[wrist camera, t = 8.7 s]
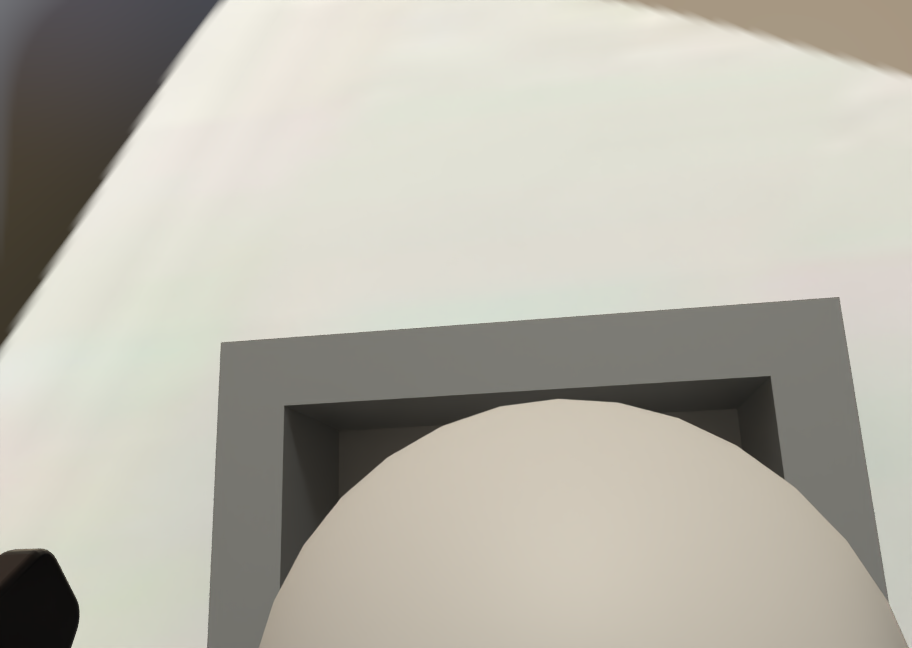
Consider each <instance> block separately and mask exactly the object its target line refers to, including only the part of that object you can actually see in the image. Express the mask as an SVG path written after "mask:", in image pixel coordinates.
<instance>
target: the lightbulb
mask: <svg viewBox="0 0 912 648" xmlns="http://www.w3.org/2000/svg"><path fill="white" fill-rule="evenodd" d="M259 648H908V645H907V643H906V641H905V639H904V636H903V634H902V632H901V630H900V627H899V625H898V623H897V621H896V618H895V616H894V614H893V611H892V609H891V607H890V605H889V602H888V601H887V599H886V598H885V597H884V595H883V594H882V592H881V591H880V589H879V588H878V586H877V585H876V583H875V582H874V580H873V579H872V577H871V576H870V574H869V573H868V571H867V570H866V568H865V567H864V565H863V564H862V562H861V561H860V560H859V558H858V557H857V555H856V554H855V552H854V551H853V549H852V548H851V546H850V545H849V543H848V542H847V540H846V539H845V538H844V537H843V536H842V535H841V534H840V533H839V532H838V531H837V530H836V529H835V528H834V527H833V526H832V525H831V524H830V523H829V522H828V521H827V520H826V519H825V518H824V517H823V516H822V515H821V514H820V513H819V512H818V510H817V509H816V508H815V507H814V506H813V505H812V504H811V503H810V502H809V501H808V500H807V499H806V498H805V497H804V496H803V495H802V494H801V493H800V492H799V491H798V490H797V489H796V488H795V487H793V486H792V485H791V484H790V483H788V482H787V481H785V480H784V479H783V478H781V477H780V476H778V475H777V474H776V473H774V472H773V471H771V470H770V469H769V468H767V467H766V466H764V465H763V464H762V463H760V462H759V461H757V460H756V459H755V458H753V457H752V456H750V455H749V454H748V453H746V452H745V451H743V450H742V449H741V448H739V447H738V446H736V445H734V444H732V443H730V442H728V441H726V440H724V439H722V438H720V437H717V436H715V435H713V434H711V433H709V432H707V431H705V430H702V429H700V428H698V427H696V426H694V425H692V424H690V423H688V422H685V421H683V420H681V419H679V418H676V417H672V416H668V415H664V414H660V413H657V412H653V411H649V410H645V409H641V408H637V407H633V406H629V405H625V404H622V403H617V402H601V401H584V400H568V399H553V400H546V401H538V402H531V403H523V404H515V405H508V406H500V407H497V408H494V409H491V410H488V411H485V412H482V413H479V414H476V415H473V416H470V417H468V418H465V419H462V420H459V421H456V422H453V423H450V424H447V425H444V426H442V427H440V428H438V429H436V430H434V431H433V432H431V433H429V434H427V435H426V436H424V437H422V438H420V439H419V440H417V441H415V442H413V443H412V444H410V445H408V446H407V447H405V448H403V449H401V450H400V451H398V452H396V453H394V454H393V455H391V456H389V457H387V458H386V459H385V460H384V461H383V462H382V463H380V464H379V465H378V466H377V467H376V468H375V469H374V470H372V471H371V472H370V473H369V474H368V475H367V476H365V477H364V478H363V479H362V480H361V481H360V482H359V483H357V484H356V485H355V486H354V487H353V488H352V489H350V490H349V491H348V492H347V493H346V494H345V495H343V496H342V497H341V499H340V500H339V501H338V502H337V504H336V505H335V506H334V507H333V509H332V510H331V511H330V512H329V514H328V515H327V516H326V518H325V519H324V520H323V521H322V523H321V524H320V525H319V526H318V528H317V529H316V530H315V531H314V533H313V534H312V535H311V536H310V538H309V539H308V540H307V541H306V543H305V544H304V545H303V547H302V549H301V551H300V553H299V555H298V557H297V559H296V560H295V562H294V564H293V566H292V568H291V570H290V572H289V574H288V575H287V577H286V579H285V581H284V583H283V585H282V587H281V589H280V591H279V592H278V594H277V596H276V598H275V600H274V602H273V605H272V608H271V612H270V615H269V618H268V621H267V624H266V627H265V630H264V633H263V637H262V640H261V643H260V646H259Z"/></svg>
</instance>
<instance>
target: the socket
mask: <svg viewBox="0 0 912 648" xmlns="http://www.w3.org/2000/svg"><path fill="white" fill-rule="evenodd" d="M553 399H568V400H584V401H601V402H617V403H622V404H625V405H629V406H633V407H637V408H641V409H645V410H649V411H653V412H657V413H660V414H664V415H668V416H672V417H676V418H679V419H681V420H683V421H685V422H688V423H690V424H692V425H694V426H696V427H698V428H700V429H702V430H705V431H707V432H709V433H711V434H713V435H715V436H717V437H720V438H722V439H724V440H726V441H728V442H730V443H732V444H734V445H736V446H738V447H739V448H741V449H742V450H743V451H745V452H746V453H748V454H749V455H750V456H752V457H753V458H755V459H756V460H757V461H759V462H760V463H762V464H763V465H764V466H766V467H767V468H769V469H770V470H771V471H773V472H774V473H776V474H777V475H778V476H780V477H781V478H783V479H784V480H785V481H787V482H788V483H790V484H791V485H792V486H793V487H795V488H796V489H797V490H798V491H799V492H800V493H801V494H802V495H803V496H804V497H805V498H806V499H807V500H808V501H809V502H810V503H811V504H812V505H813V506H814V507H815V508H816V509H817V510H818V512H819V513H820V514H821V515H822V516H823V517H824V518H825V519H826V520H827V521H828V522H829V523H830V524H831V525H832V526H833V527H834V528H835V529H836V530H837V531H838V532H839V533H840V534H841V535H842V536H843V537H844V538H845V539H846V540H847V542H848V543H849V545H850V546H851V548H852V549H853V551H854V552H855V554H856V555H857V557H858V558H859V560H860V561H861V562H862V564H863V565H864V567H865V568H866V570H867V571H868V573H869V574H870V576H871V577H872V579H873V580H874V582H875V583H876V585H877V586H878V588H879V589H880V591H881V592H882V594H883V595H884V597H885V598H886V599H887V601H888V595H887V589H886V582H885V576H884V570H883V564H882V558H881V552H880V545H879V539H878V533H877V527H876V521H875V515H874V509H873V502H872V496H871V490H870V484H869V478H868V472H867V465H866V459H865V453H864V447H863V441H862V435H861V428H860V422H859V416H858V410H857V404H856V398H855V392H854V385H853V379H852V373H851V367H850V361H849V355H848V348H847V342H846V336H845V330H844V324H843V318H842V312H841V305H840V299H839V297H834V298H821V299H807V300H793V301H780V302H766V303H753V304H739V305H725V306H712V307H698V308H685V309H671V310H657V311H644V312H630V313H617V314H603V315H589V316H576V317H562V318H549V319H535V320H521V321H508V322H494V323H481V324H467V325H453V326H440V327H426V328H413V329H399V330H385V331H372V332H358V333H345V334H331V335H317V336H304V337H290V338H277V339H263V340H249V341H236V342H222V343H221V353H220V376H219V398H218V420H217V442H216V465H215V487H214V509H213V531H212V554H211V576H210V598H209V620H208V643H207V648H259V646H260V643H261V640H262V637H263V633H264V630H265V627H266V624H267V621H268V618H269V615H270V612H271V608H272V605H273V602H274V600H275V598H276V596H277V594H278V592H279V591H280V589H281V587H282V585H283V583H284V581H285V579H286V577H287V575H288V574H289V572H290V570H291V568H292V566H293V564H294V562H295V560H296V559H297V557H298V555H299V553H300V551H301V549H302V547H303V545H304V544H305V543H306V541H307V540H308V539H309V538H310V536H311V535H312V534H313V533H314V531H315V530H316V529H317V528H318V526H319V525H320V524H321V523H322V521H323V520H324V519H325V518H326V516H327V515H328V514H329V512H330V511H331V510H332V509H333V507H334V506H335V505H336V504H337V502H338V501H339V500H340V499H341V497H342V496H343V495H345V494H346V493H347V492H348V491H349V490H350V489H352V488H353V487H354V486H355V485H356V484H357V483H359V482H360V481H361V480H362V479H363V478H364V477H365V476H367V475H368V474H369V473H370V472H371V471H372V470H374V469H375V468H376V467H377V466H378V465H379V464H380V463H382V462H383V461H384V460H385V459H386V458H387V457H389V456H391V455H393V454H394V453H396V452H398V451H400V450H401V449H403V448H405V447H407V446H408V445H410V444H412V443H413V442H415V441H417V440H419V439H420V438H422V437H424V436H426V435H427V434H429V433H431V432H433V431H434V430H436V429H438V428H440V427H442V426H444V425H447V424H450V423H453V422H456V421H459V420H462V419H465V418H468V417H470V416H473V415H476V414H479V413H482V412H485V411H488V410H491V409H494V408H497V407H500V406H508V405H515V404H523V403H531V402H538V401H546V400H553ZM888 602H889V601H888Z"/></svg>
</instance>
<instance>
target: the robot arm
mask: <svg viewBox="0 0 912 648" xmlns="http://www.w3.org/2000/svg"><path fill="white" fill-rule="evenodd" d="M78 624H79V605H78V602H77V599H76V597H75V595H74V593H73V591H72V589H71V587H70V585H69V583H68V581H67V579H66V577H65V575H64V573H63V571H62V569H61V567H60V565H59V563H58V561H57V560H56V558H55V556H54V555H53V554H52V553H51V552H49V551H48V550H45V549H15V550H10V551H7V552H4V553H2V554H1V555H0V648H71V646H72V643H73V640H74V637H75V634H76V631H77V628H78Z"/></svg>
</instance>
